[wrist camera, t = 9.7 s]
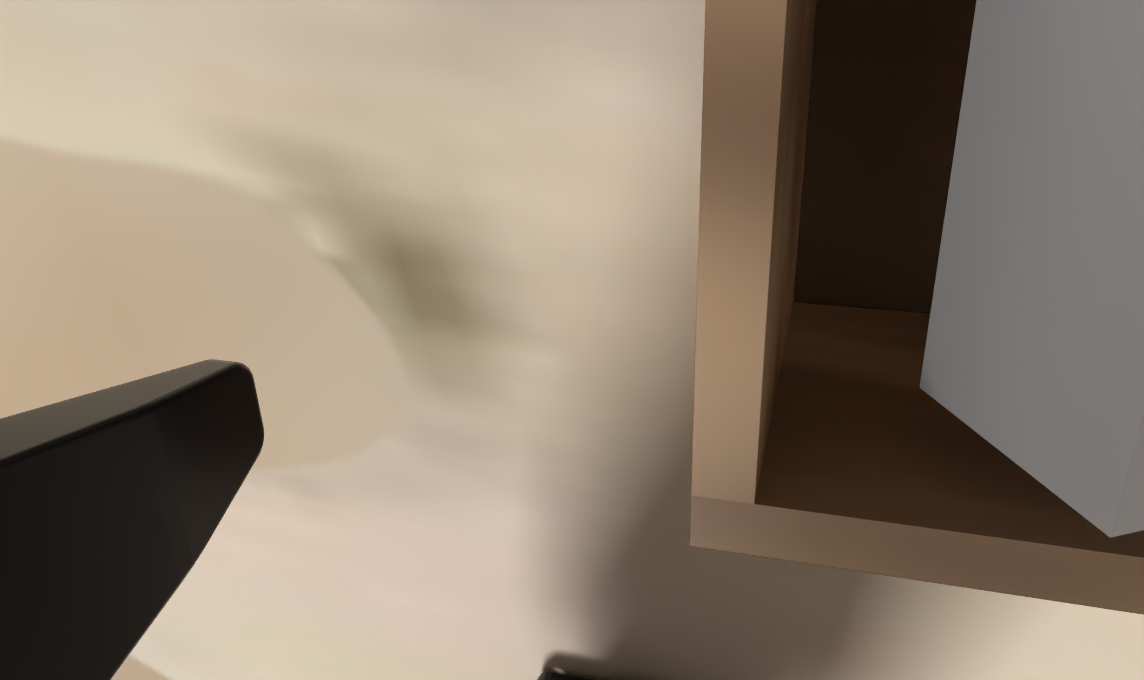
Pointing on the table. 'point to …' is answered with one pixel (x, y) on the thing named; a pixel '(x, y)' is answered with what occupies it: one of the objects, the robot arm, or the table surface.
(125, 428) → the robot arm
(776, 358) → the stand
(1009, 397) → the flap
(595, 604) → the table surface
